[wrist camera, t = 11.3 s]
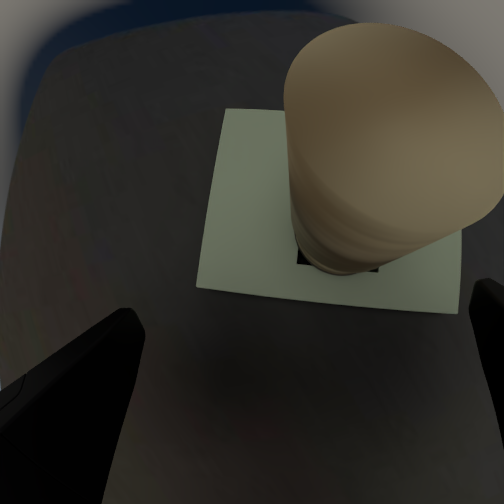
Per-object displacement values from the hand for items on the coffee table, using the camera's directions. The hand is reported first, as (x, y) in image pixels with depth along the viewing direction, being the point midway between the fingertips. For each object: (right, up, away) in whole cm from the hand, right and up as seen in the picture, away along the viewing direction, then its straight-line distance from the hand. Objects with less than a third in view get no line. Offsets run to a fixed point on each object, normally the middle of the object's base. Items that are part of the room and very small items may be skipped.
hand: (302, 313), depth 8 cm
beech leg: (+4, +2, +13) cm, 14 cm away
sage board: (+4, +4, +13) cm, 15 cm away
